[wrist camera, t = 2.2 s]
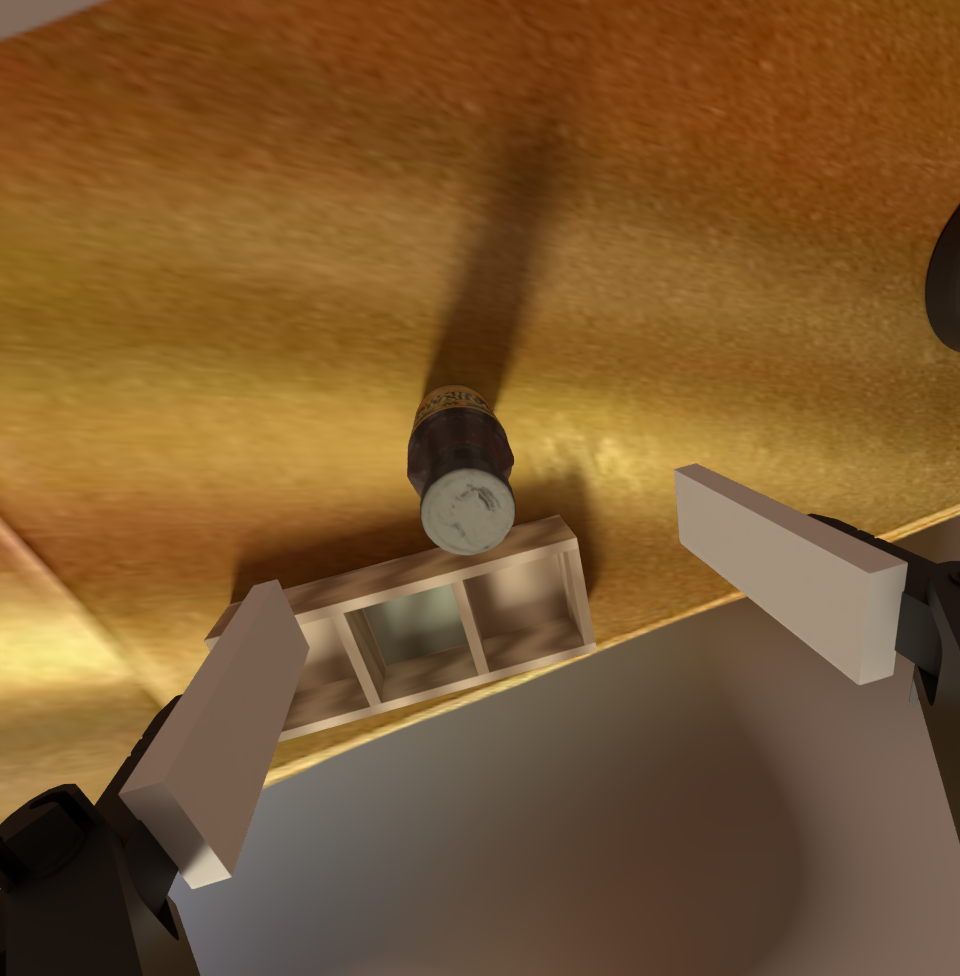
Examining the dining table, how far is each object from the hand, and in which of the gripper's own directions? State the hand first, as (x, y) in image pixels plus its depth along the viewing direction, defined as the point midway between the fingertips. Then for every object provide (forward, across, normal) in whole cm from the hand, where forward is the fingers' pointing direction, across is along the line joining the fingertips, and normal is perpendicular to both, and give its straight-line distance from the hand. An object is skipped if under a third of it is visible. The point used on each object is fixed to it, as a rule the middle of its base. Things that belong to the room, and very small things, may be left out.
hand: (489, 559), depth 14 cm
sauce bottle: (+24, 0, 0) cm, 24 cm away
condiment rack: (+24, +8, +17) cm, 30 cm away
